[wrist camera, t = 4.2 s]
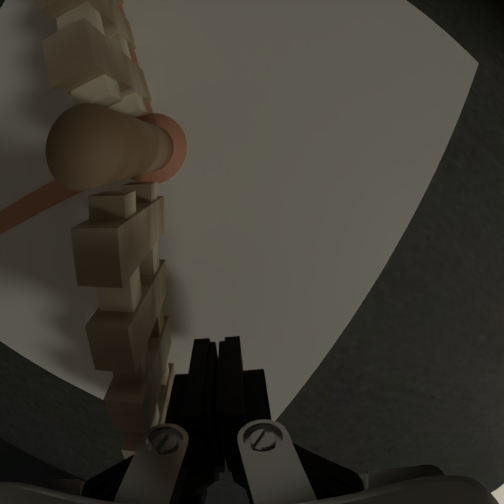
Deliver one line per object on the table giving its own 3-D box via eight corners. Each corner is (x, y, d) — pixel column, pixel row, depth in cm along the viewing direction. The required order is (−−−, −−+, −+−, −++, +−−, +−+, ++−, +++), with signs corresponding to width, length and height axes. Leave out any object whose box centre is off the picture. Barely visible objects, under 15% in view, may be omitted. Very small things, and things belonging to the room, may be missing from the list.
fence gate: (126, 180, 11) (47, 206, 6) (171, 180, 12) (121, 204, 6) (153, 419, 15) (135, 509, 9) (186, 421, 15) (177, 514, 9)
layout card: (90, -101, 7) (89, -103, 6) (476, 63, 11) (479, 63, 11) (-69, 283, 12) (-71, 284, 12) (248, 448, 17) (249, 451, 17)
